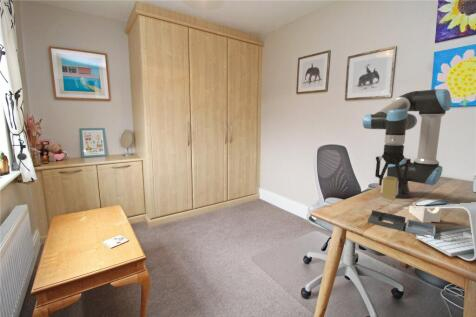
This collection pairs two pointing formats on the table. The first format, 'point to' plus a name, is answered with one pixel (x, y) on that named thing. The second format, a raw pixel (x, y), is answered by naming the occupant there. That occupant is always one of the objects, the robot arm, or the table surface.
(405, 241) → the table surface
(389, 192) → the mustard yellow block
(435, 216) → the bracket
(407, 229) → the tray
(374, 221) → the dark grey shallow tray
